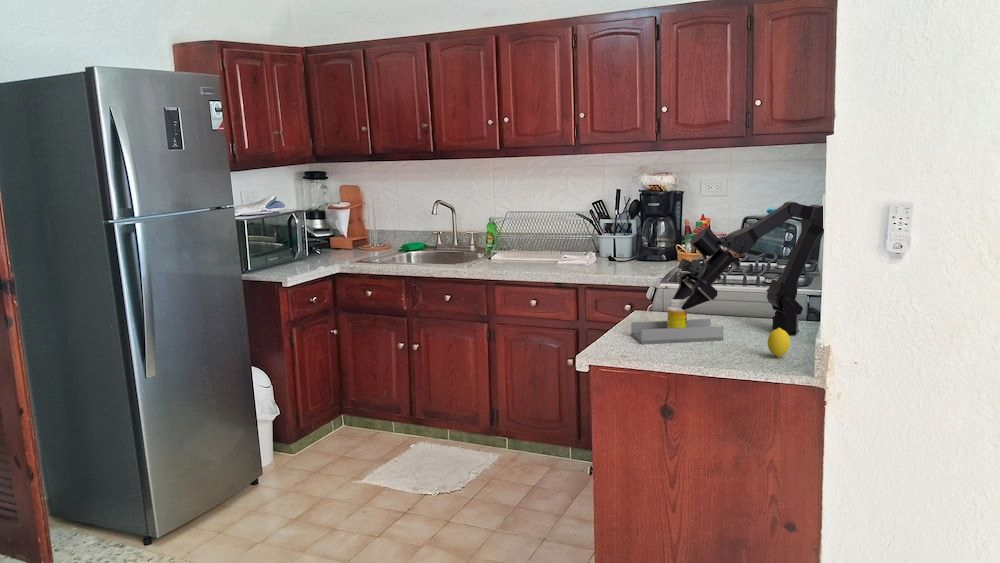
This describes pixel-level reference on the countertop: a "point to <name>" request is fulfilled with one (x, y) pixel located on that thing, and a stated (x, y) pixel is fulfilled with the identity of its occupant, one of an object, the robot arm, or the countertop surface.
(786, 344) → the lemon
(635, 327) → the cable duct
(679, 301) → the supplement bottle
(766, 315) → the countertop surface
